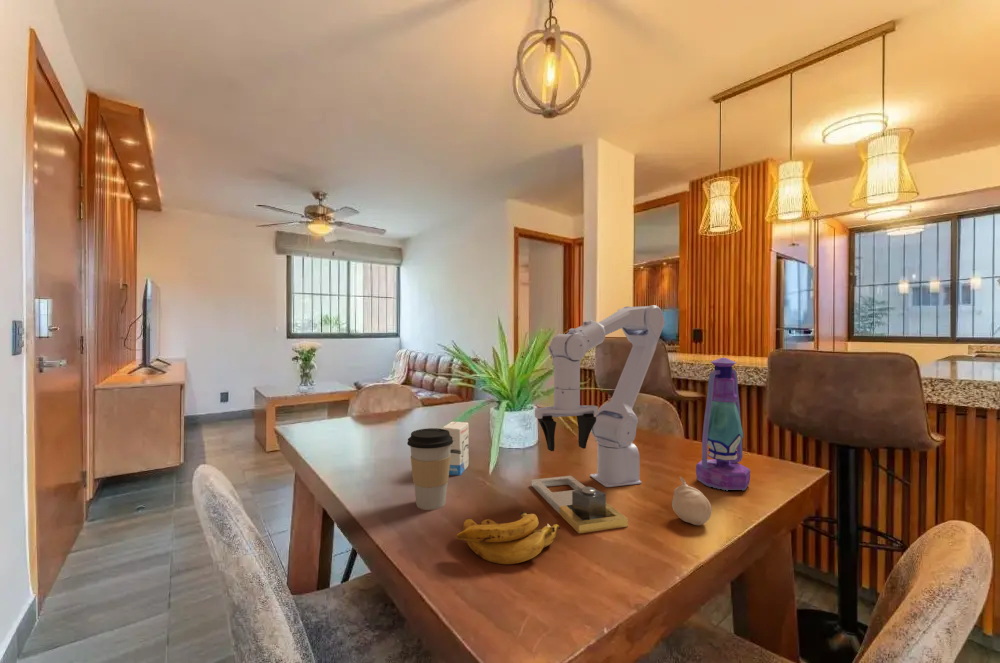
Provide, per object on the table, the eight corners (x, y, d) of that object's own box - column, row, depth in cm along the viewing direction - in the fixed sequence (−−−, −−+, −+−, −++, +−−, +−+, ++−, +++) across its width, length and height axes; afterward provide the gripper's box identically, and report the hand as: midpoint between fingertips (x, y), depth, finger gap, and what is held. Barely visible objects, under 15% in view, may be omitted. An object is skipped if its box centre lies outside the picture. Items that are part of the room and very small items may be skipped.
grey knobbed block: (588, 511, 87) (588, 483, 87) (605, 519, 83) (605, 490, 83) (572, 516, 84) (572, 488, 84) (589, 525, 80) (589, 495, 80)
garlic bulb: (705, 516, 84) (705, 476, 84) (714, 532, 78) (715, 488, 78) (669, 513, 85) (670, 473, 85) (676, 528, 79) (676, 485, 79)
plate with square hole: (571, 481, 103) (571, 475, 103) (627, 526, 80) (627, 518, 80) (531, 486, 100) (531, 479, 100) (578, 533, 77) (578, 525, 77)
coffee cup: (460, 498, 92) (460, 429, 92) (440, 517, 83) (440, 440, 83) (421, 493, 95) (421, 425, 95) (398, 510, 87) (398, 436, 86)
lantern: (719, 472, 110) (719, 355, 110) (764, 487, 100) (765, 358, 99) (682, 480, 104) (683, 356, 104) (726, 497, 94) (727, 360, 93)
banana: (580, 553, 71) (580, 518, 71) (474, 582, 62) (474, 543, 62) (533, 516, 85) (533, 487, 85) (441, 536, 76) (441, 504, 76)
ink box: (460, 476, 106) (460, 429, 106) (441, 475, 107) (441, 428, 107) (469, 465, 115) (469, 421, 115) (451, 464, 116) (451, 420, 116)
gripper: (587, 384, 102) (587, 441, 102) (530, 386, 98) (529, 446, 98) (603, 388, 95) (602, 449, 95) (541, 391, 91) (541, 455, 91)
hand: (566, 448), depth 96 cm, fingers open, 7 cm apart
